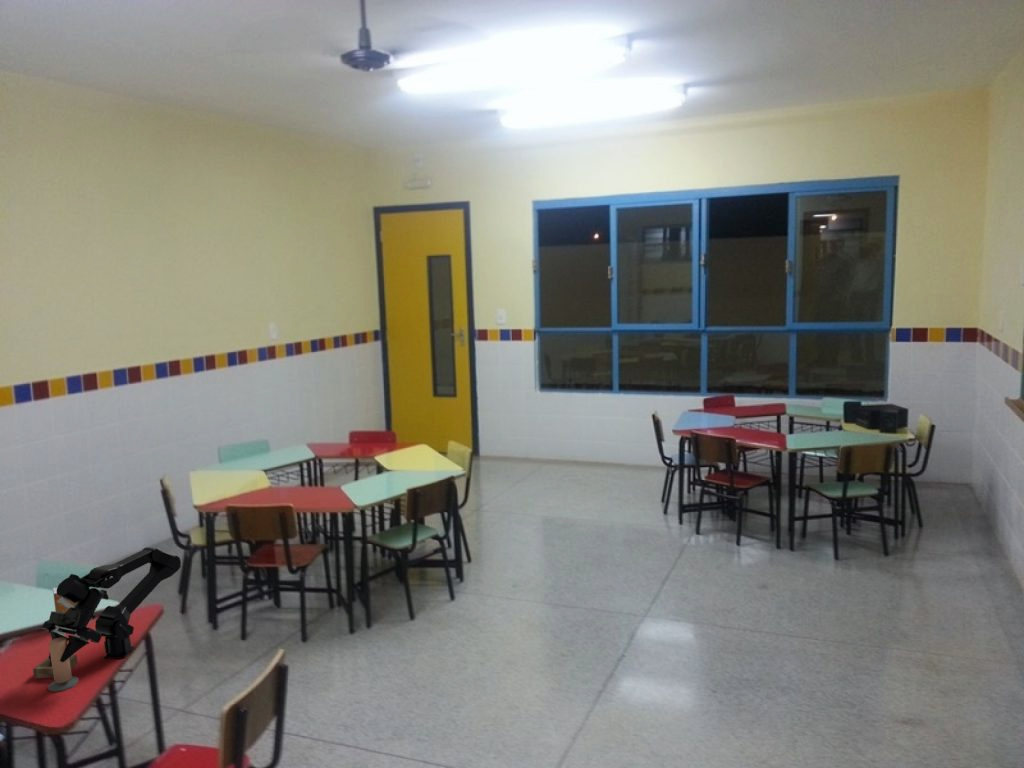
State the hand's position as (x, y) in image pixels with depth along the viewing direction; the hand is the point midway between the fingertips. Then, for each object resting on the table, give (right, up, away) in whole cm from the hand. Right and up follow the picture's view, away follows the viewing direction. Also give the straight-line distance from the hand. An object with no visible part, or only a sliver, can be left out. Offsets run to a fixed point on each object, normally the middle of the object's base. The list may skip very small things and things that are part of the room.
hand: (55, 660), depth 219 cm
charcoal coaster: (+1, -8, +2) cm, 8 cm away
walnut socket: (-6, -7, +11) cm, 14 cm away
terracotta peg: (+1, -6, +2) cm, 7 cm away
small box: (-21, -3, +43) cm, 48 cm away
